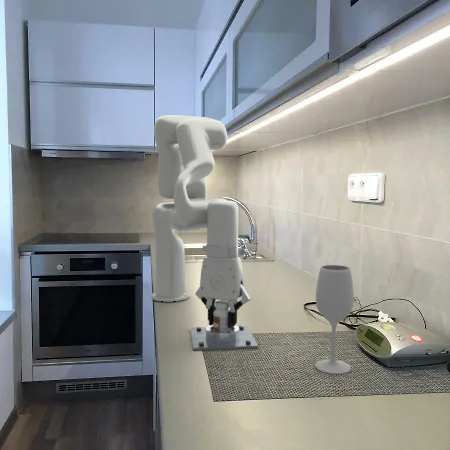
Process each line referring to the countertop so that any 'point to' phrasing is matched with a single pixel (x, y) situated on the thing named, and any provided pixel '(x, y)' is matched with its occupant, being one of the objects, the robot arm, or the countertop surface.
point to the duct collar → (222, 334)
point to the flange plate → (203, 343)
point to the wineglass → (334, 308)
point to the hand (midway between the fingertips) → (222, 324)
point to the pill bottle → (221, 316)
